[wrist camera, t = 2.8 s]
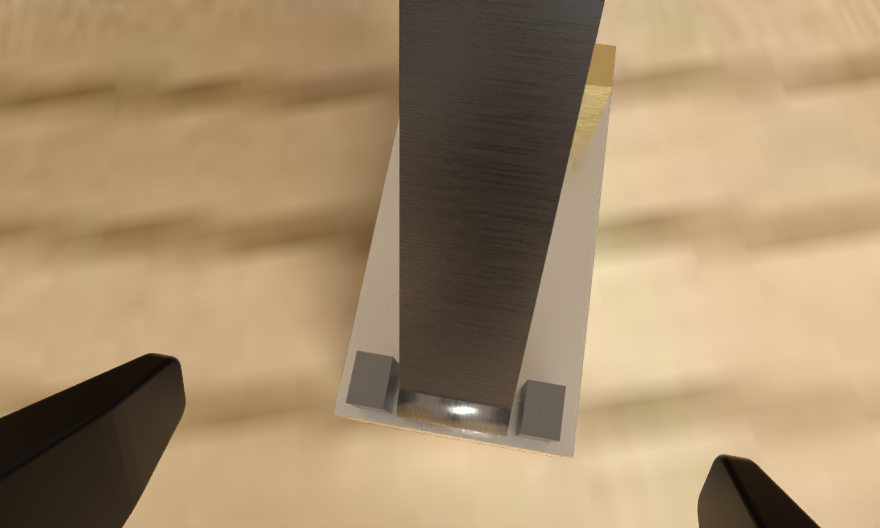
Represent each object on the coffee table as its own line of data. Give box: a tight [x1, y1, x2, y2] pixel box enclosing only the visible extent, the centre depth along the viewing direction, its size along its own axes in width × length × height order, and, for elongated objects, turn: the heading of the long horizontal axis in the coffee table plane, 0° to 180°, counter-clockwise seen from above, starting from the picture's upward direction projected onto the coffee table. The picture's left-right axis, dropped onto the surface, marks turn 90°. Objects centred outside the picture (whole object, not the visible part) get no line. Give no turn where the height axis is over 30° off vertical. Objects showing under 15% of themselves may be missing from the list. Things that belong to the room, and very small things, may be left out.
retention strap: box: [397, 0, 605, 437], centre depth 13 cm, size 2×3×12 cm
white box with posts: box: [334, 44, 616, 458], centre depth 20 cm, size 12×7×8 cm, turn 170°
